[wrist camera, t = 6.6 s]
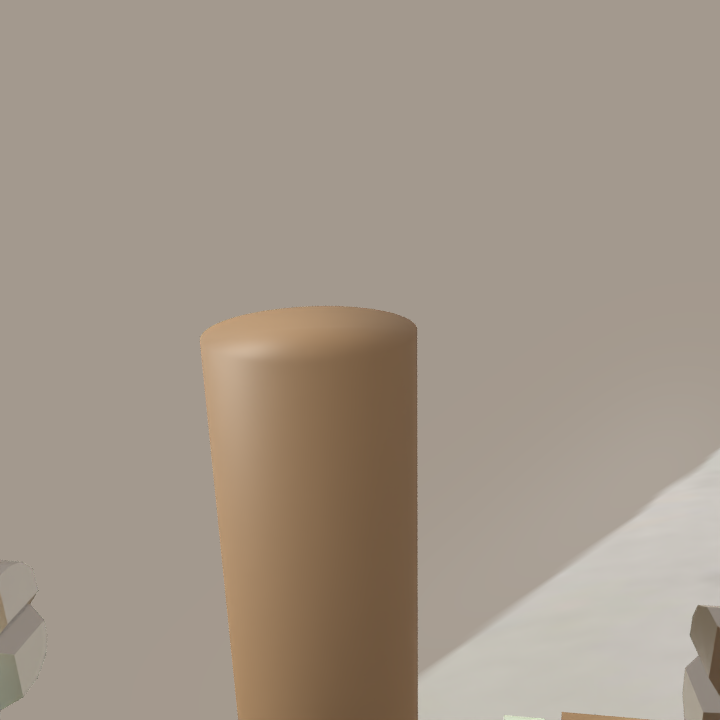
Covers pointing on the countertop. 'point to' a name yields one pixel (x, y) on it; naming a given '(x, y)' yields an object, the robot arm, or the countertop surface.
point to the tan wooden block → (592, 717)
